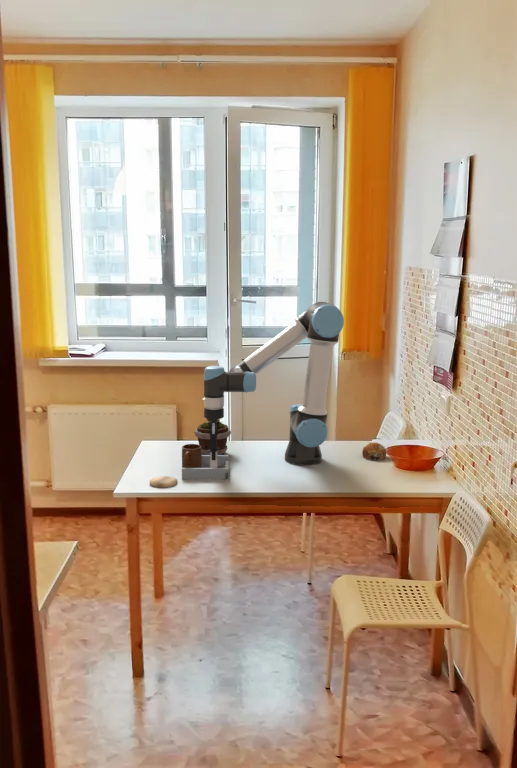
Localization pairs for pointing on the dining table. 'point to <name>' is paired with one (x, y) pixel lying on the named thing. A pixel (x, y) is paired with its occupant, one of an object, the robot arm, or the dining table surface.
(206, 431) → the flowerpot
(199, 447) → the mug
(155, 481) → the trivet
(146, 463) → the dining table surface
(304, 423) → the robot arm
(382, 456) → the bread roll
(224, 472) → the u-shaped frame
